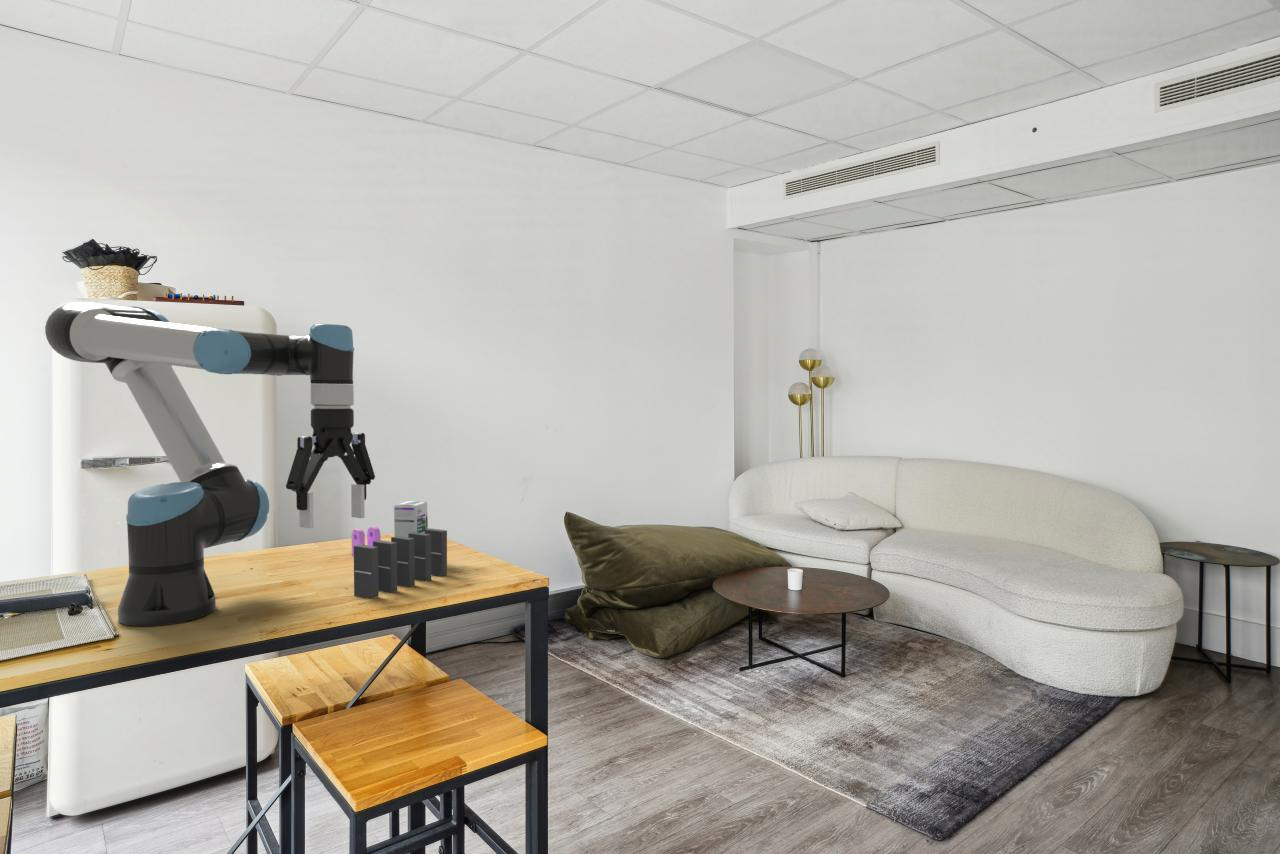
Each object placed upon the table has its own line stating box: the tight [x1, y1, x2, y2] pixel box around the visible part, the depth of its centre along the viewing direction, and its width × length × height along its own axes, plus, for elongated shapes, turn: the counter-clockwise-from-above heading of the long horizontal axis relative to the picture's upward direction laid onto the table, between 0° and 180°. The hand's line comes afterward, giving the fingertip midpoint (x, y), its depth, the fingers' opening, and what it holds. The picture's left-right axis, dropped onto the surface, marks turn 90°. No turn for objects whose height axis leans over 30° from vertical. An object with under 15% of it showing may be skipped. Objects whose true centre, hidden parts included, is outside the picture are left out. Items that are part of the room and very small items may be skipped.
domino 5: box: [425, 527, 448, 577], centre depth 170 cm, size 5×2×10 cm, turn 63°
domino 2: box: [373, 539, 398, 594], centre depth 156 cm, size 5×2×10 cm, turn 63°
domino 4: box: [408, 532, 432, 583], centre depth 165 cm, size 5×2×10 cm, turn 63°
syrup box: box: [393, 500, 429, 537], centre depth 179 cm, size 6×6×14 cm
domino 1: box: [353, 544, 380, 599], centre depth 152 cm, size 5×2×10 cm, turn 63°
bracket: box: [351, 526, 381, 558], centre depth 185 cm, size 13×6×7 cm, turn 50°
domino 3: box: [390, 535, 416, 588], centre depth 161 cm, size 5×2×10 cm, turn 63°
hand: (333, 522), depth 145 cm, fingers open, 11 cm apart
